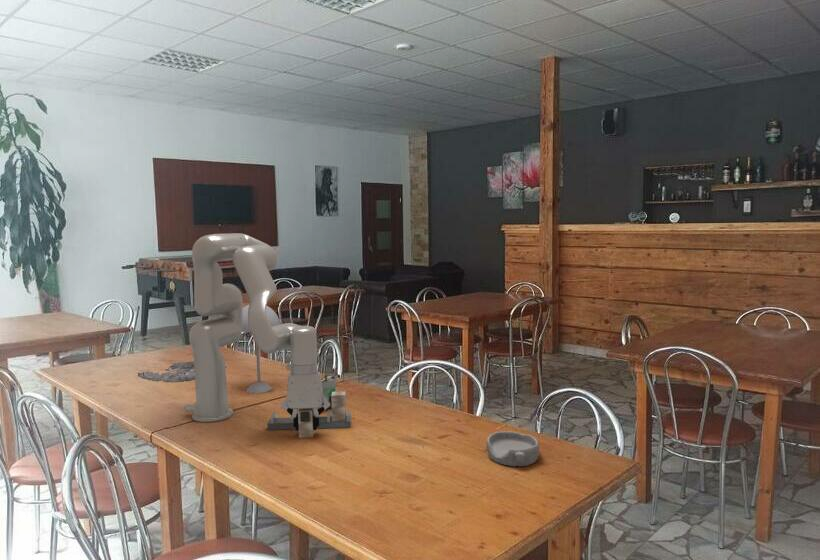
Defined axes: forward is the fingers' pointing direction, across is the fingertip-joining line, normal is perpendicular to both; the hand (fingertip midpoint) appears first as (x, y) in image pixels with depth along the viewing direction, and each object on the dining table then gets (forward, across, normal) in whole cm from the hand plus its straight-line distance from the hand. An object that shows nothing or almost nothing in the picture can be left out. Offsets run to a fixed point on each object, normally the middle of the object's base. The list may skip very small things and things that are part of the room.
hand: (306, 428), depth 176 cm
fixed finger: (0, +9, +7) cm, 11 cm away
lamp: (+2, -24, +48) cm, 54 cm away
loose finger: (+2, 0, 0) cm, 2 cm away
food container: (+2, +4, +26) cm, 26 cm away
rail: (+2, 0, +8) cm, 8 cm away
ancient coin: (+2, -63, +80) cm, 101 cm away
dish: (+2, +57, -20) cm, 61 cm away
